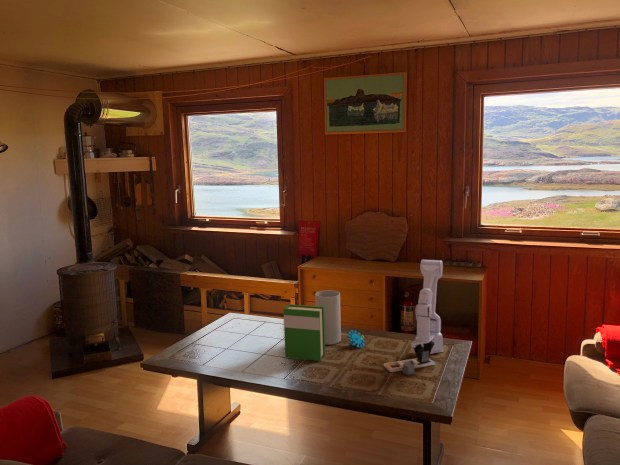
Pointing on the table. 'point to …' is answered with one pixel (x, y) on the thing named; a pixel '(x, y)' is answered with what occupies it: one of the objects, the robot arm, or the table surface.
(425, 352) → the dark square post
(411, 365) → the grey wood-grain cube
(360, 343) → the gear
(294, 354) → the hardback book
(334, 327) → the cylinder vase
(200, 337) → the table surface
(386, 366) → the square hole plate
